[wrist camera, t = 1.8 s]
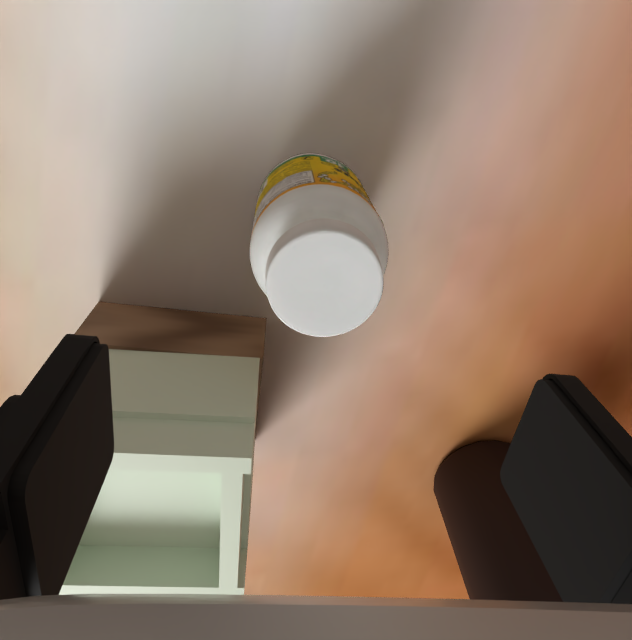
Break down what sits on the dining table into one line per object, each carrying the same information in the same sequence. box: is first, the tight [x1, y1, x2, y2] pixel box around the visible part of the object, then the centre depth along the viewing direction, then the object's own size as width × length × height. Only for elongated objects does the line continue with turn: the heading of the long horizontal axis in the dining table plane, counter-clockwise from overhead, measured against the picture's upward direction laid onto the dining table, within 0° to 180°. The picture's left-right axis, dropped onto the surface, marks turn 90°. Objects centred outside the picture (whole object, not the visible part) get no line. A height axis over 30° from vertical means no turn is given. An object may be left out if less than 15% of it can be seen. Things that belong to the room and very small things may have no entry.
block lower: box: [75, 302, 266, 431], centre depth 28 cm, size 9×9×4 cm
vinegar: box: [434, 441, 563, 602], centre depth 26 cm, size 7×7×20 cm
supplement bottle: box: [250, 153, 388, 337], centre depth 21 cm, size 5×5×10 cm
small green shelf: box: [59, 349, 260, 595], centre depth 23 cm, size 9×9×6 cm
